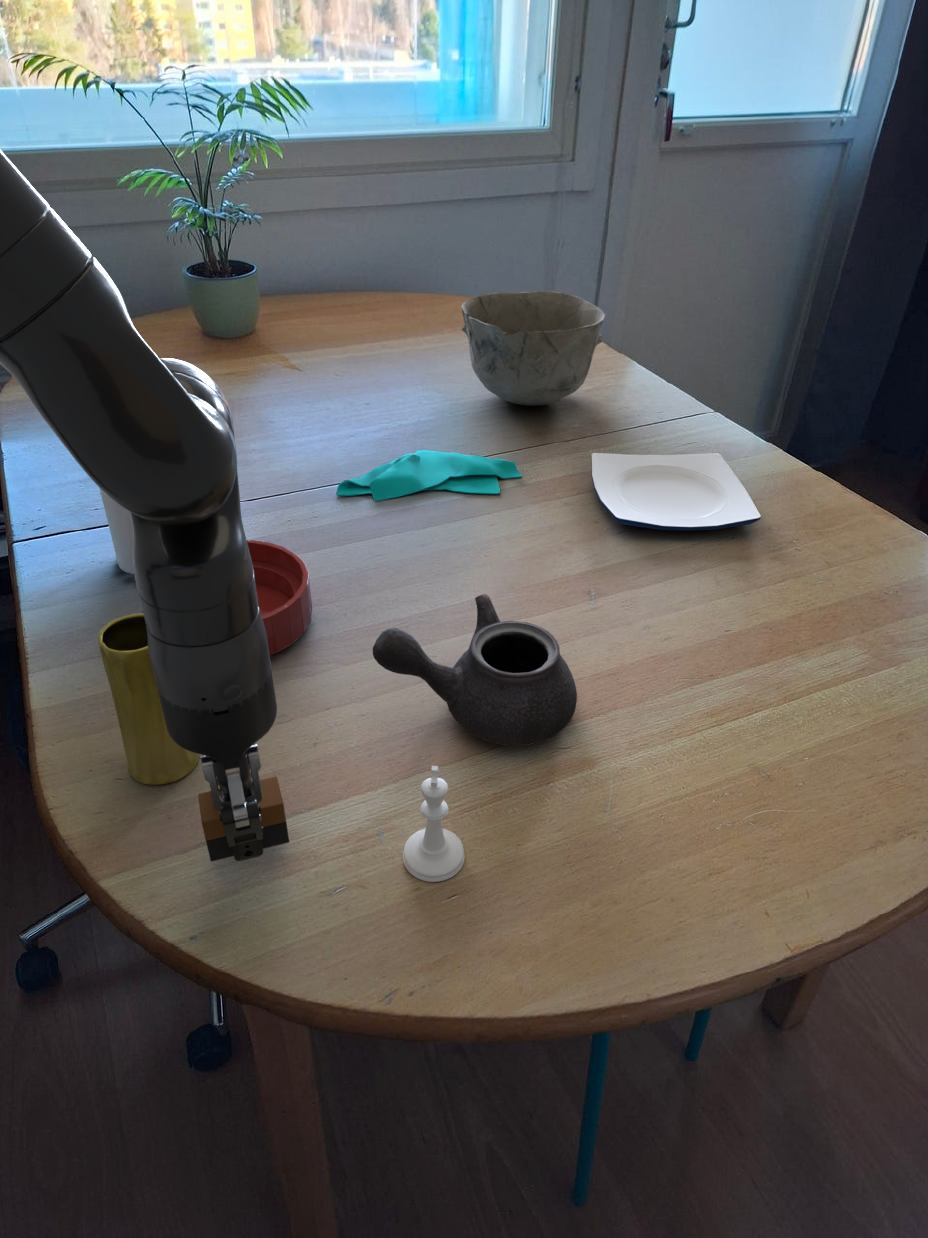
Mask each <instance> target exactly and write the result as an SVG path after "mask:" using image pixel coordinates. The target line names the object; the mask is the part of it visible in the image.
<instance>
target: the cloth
mask: <svg viewBox="0 0 928 1238" xmlns="http://www.w3.org/2000/svg"><path fill="white" fill-rule="evenodd" d="M522 476H523V475H522V473H521V471H519V470H518V467H517V464H516V461H511V460H508V459H503V458H488V457H486V456H482V455H477V454H475V455H473V454H463V453H460V452H459V453H458V452H455V451H454V452H443V451H436V450H428V449H427V450H426V449H418V450H417V451H415V453H406V454H404V455H401V456H400V457H398V458H396V459H394V460H392V461H390V462H386V463H384V464H381V465H378V466H376V467H375V468H372V469H371V470H370V471H368V472H366V473H365V474H364V475H362V476H360V477H353V478H350V479H345V480H343V481H341V482H340V483H339V484H338V485H337V489H336V492H335V495H336V496H337V497H353V496H360V495H372V498H373V500H374V502H380V501H384V500H391V499H396V498H401V497H404V496H408V495H411V494H415V493H418V492H421V491H444V490H446V491H450V492H453V493H464V494H476V495H477V494H479V495H500V494H501V489H500V484H499V480H498V478H500V479H502V480H507V479H517V478H518V479H519V478H522Z"/></svg>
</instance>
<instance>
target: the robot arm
mask: <svg viewBox="0 0 928 1238" xmlns="http://www.w3.org/2000/svg"><path fill="white" fill-rule="evenodd" d="M0 365H1V366H2V367H3V368H4V369H5V370H6V371H7V372H9V374H10V375H11V376H12V377H13V378H14V379H15V380H16V382H17V384H19V386H20V387H21V388H22V390H23V391H24V393H25V394H26V395H27V397H28V399H30V401H31V403H32V404H33V406H34V408H35V409H36V410H37V412H38V413H39V414H40V415H39V416H41V417H42V420H44V422H45V423H46V424H47V425H48V427H49V428H50V429H51V430H52V432H53V433H54V434H55V436H56V437H57V438H58V439H59V441H60V443H62V445H63V446H64V448H66V450H67V451H68V452H69V454H70V455H71V456H72V458H73V459H74V461H76V463H77V464H78V466H79V467H81V469H82V470H83V472H85V474H86V475H87V477H89V478H90V479H91V480H92V481H93V483H94V484H95V485H96V486H97V487H98V488H99V490H100V489H101V490H103V491H104V492H105V493H106V494H107V495H108V496H109V497H110V498H112V499H113V500H114V501H115V502H116V503H118V504H119V505H121V506H122V507H123V508H125V509H126V510H128V511H130V513H131V518H132V523H133V530H134V547H133V564H134V574H133V575H134V581H135V585H136V590H137V594H138V598H139V603H140V606H141V607H140V608H141V611H142V614H143V615H144V619H145V623H146V628H147V637H148V652H149V657H150V662H151V666H152V670H153V674H154V678H155V682H156V686H157V690H158V695H159V698H160V703H161V707H162V711H163V715H164V719H165V723H166V727H167V731H168V733H169V735H170V737H171V738H172V739H173V741H174V742H175V743H176V744H178V745H179V746H180V747H182V748H184V749H186V750H188V751H190V752H193V753H197V754H200V762H201V768H202V773H203V777H204V780H205V781H206V782H208V783H209V788H210V791H211V793H212V798H213V803H214V808H215V810H216V811H217V812H221V814H219V817H220V822H222V821H223V826H224V830H225V833H226V836H225V840H226V843H227V842H228V845H229V847H232V850H233V855H234V856H233V858H234V860H235V861H236V862H242V861H246V860H251V859H254V858H259V857H260V856H262V855H263V854H264V849H263V846H262V840H261V839H263V834H264V828H263V827H261V821H262V820H261V814H259V813H261V807H260V805H259V806H258V804H259V803H260V802H261V801H262V799H263V796H262V790H261V784H260V780H261V779H260V773H259V771H260V770H261V769H262V764H261V763H262V762H261V757H260V751H259V747H258V744H257V742H259V741H260V740H261V739H262V738H264V737H265V736H266V735H267V734H268V733H269V731H270V730H271V728H272V727H273V725H274V724H275V721H276V718H277V714H278V703H277V696H276V690H275V685H274V684H275V683H274V675H273V670H272V669H273V668H272V662H271V661H272V660H271V655H270V654H269V646H268V639H267V634H266V630H265V626H264V623H263V620H262V617H261V614H260V609H259V603H258V596H257V589H256V583H255V576H254V570H253V564H252V559H251V555H250V552H249V548H248V544H247V540H248V539H247V537H246V533H245V529H244V523H243V520H242V518H243V517H242V511H241V509H242V508H241V499H240V498H241V496H240V485H239V475H238V474H239V473H238V455H237V445H236V439H235V429H234V428H235V427H234V420H233V415H232V410H231V407H230V405H229V401H228V400H227V398H226V395H225V394H224V392H223V391H222V389H221V388H220V386H219V385H218V384H217V382H216V381H214V379H213V378H211V376H210V375H208V374H207V373H206V372H205V371H204V370H202V369H201V368H199V367H197V366H195V365H194V364H192V363H189V362H187V361H184V360H180V359H176V358H170V357H158V355H157V353H156V352H154V350H153V349H152V348H151V346H150V345H149V344H148V343H147V342H146V340H145V339H144V338H143V337H142V336H141V334H140V333H139V331H138V330H137V329H136V327H135V325H134V322H133V321H132V319H131V315H130V313H129V310H128V307H127V304H126V302H125V299H124V296H123V295H122V293H121V291H120V289H119V288H118V286H117V285H116V283H115V282H114V280H113V279H112V277H111V276H110V275H109V273H108V272H107V271H106V270H105V268H104V267H103V266H102V265H101V263H100V262H99V261H98V260H97V258H96V257H94V256H92V253H91V252H90V251H89V249H87V247H86V246H85V245H84V244H83V242H81V240H80V239H79V237H77V236H76V235H75V233H74V232H73V231H72V230H71V229H70V228H69V227H68V225H67V224H66V223H65V222H64V220H62V218H61V217H60V216H59V215H58V214H57V213H56V211H55V210H54V209H53V208H52V207H50V203H48V202H47V201H46V199H44V198H43V196H42V195H41V194H40V193H39V192H38V191H37V190H36V189H35V187H34V186H33V185H32V184H31V182H29V180H27V178H26V177H25V176H24V174H22V173H21V172H20V170H19V169H18V168H17V167H16V166H15V164H14V163H13V162H12V161H11V160H10V159H9V157H7V155H6V154H5V153H4V152H3V151H2V150H1V149H0ZM251 782H252V784H251ZM250 784H251V785H250ZM219 789H220V790H221V791H220V790H219Z"/></svg>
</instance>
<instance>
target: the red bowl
mask: <svg viewBox="0 0 928 1238" xmlns="http://www.w3.org/2000/svg"><path fill="white" fill-rule="evenodd" d="M246 540H247V544H248V548H249V552H250V555H251V559H252V564H253V570H254V576H255V583H256V589H257V596H258V603H259V609H260V614H261V617H262V620H263V623H264V626H265V630H266V634H267V639H268V646H269V654H270V656H272V655H274V654H277V653H279V652H281V651H282V650H284V649H286V648H288V647H290V646H291V645H293V644H294V643H295V642H296V641H297V640H298V639H299V638H300V637H301V636H303V635H304V633H305V631H306V630H307V628H308V627H309V624H310V623H311V621H312V614H313V603H312V592H311V582H310V573H309V570H308V567H307V564H306V562H305V561H304V560H303V559H302V558H301V556H299V555H298V554H297V553H296V552H294V551H292V550H290V549H289V548H286V547H285V546H282V545H279V544H275V543H273V542H269V541H263V540H255V539H246Z"/></svg>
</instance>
